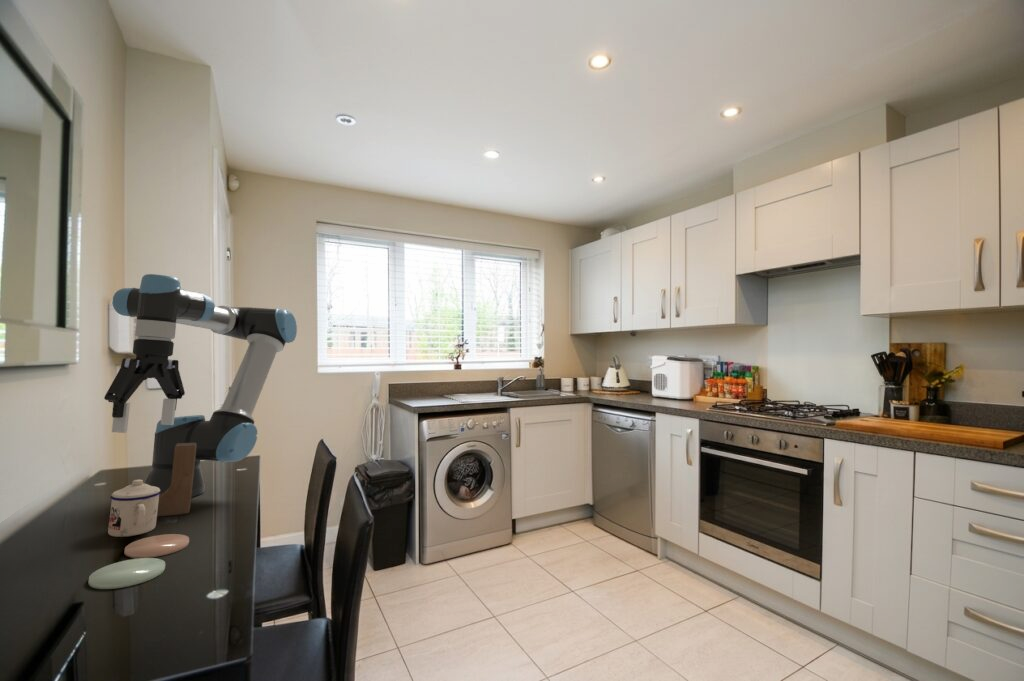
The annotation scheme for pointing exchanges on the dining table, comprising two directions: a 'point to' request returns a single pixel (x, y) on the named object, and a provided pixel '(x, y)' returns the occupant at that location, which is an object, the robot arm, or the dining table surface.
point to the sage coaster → (126, 573)
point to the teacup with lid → (133, 509)
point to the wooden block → (179, 482)
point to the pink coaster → (156, 546)
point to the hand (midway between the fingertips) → (144, 428)
